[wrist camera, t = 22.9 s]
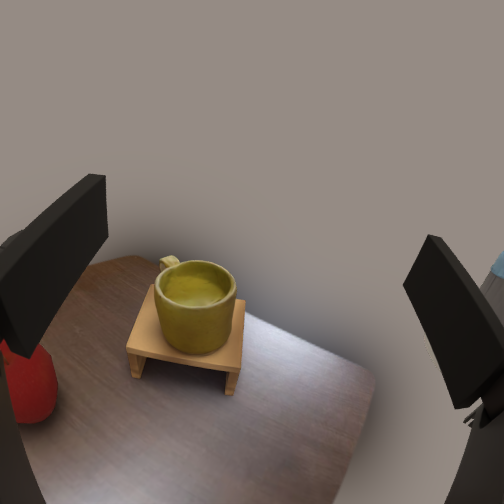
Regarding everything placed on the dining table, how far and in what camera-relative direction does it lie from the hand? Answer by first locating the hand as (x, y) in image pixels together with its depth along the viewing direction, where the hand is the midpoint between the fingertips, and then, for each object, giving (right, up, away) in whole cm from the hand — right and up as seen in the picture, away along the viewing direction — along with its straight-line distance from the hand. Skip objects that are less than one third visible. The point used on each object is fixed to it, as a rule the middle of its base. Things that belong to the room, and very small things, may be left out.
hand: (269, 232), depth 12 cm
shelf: (-10, -16, +32) cm, 37 cm away
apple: (-29, -21, +18) cm, 40 cm away
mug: (-9, -10, +28) cm, 31 cm away
